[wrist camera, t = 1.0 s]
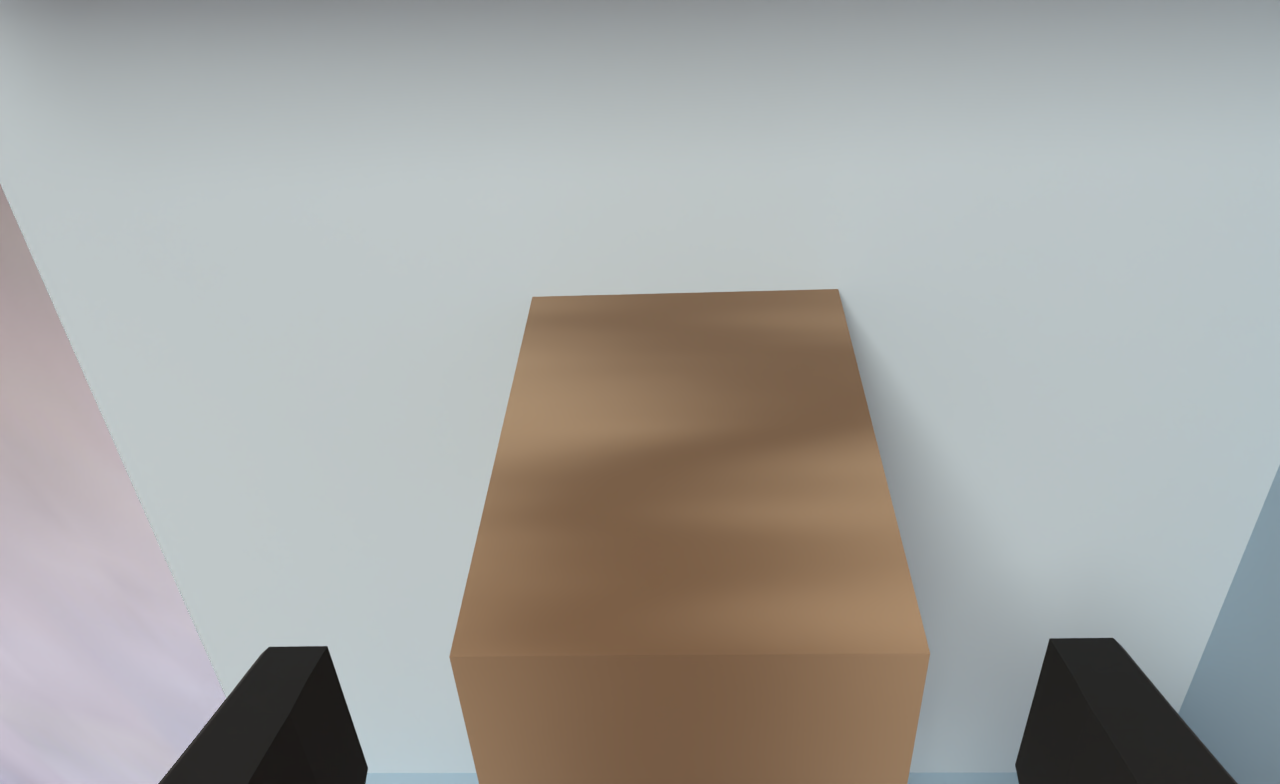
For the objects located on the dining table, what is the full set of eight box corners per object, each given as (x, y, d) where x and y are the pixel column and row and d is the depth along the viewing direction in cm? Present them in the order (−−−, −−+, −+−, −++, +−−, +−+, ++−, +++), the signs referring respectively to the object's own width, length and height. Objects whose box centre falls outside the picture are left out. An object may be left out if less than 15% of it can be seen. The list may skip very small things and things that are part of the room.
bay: (1696, -525, 10) (2437, -660, 6) (1172, 742, 21) (1291, 1003, 17) (-155, -406, 11) (-671, -445, 7) (297, 744, 22) (210, 992, 18)
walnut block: (838, 288, 13) (930, 653, 8) (821, 517, 16) (886, 908, 11) (532, 296, 14) (450, 656, 9) (560, 520, 16) (507, 904, 11)
